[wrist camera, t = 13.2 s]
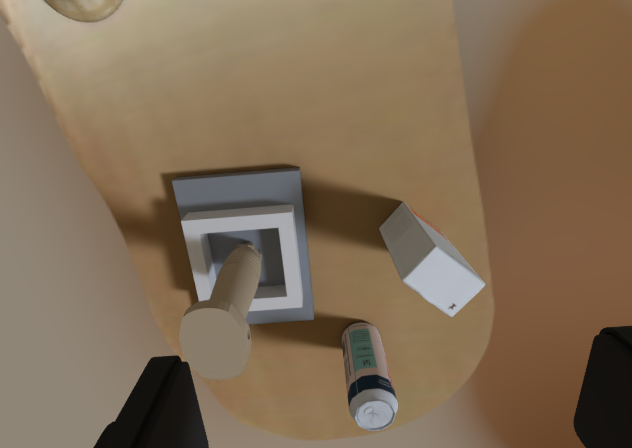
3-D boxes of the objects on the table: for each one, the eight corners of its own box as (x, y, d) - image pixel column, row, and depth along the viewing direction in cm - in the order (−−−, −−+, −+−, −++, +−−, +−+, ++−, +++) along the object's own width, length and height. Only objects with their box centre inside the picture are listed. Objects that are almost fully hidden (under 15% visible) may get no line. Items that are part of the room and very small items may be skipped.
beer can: (358, 357, 49) (372, 441, 38) (333, 335, 47) (340, 415, 36) (387, 336, 47) (410, 416, 36) (362, 313, 46) (378, 388, 35)
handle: (232, 282, 43) (192, 382, 29) (219, 229, 40) (169, 312, 26) (274, 277, 42) (255, 376, 29) (264, 224, 40) (237, 304, 26)
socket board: (176, 177, 40) (162, 187, 36) (299, 167, 39) (298, 176, 36) (208, 320, 46) (199, 341, 43) (314, 312, 46) (314, 333, 42)
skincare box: (442, 230, 42) (489, 286, 31) (416, 257, 44) (451, 320, 32) (402, 198, 41) (436, 244, 30) (376, 227, 42) (399, 282, 31)
